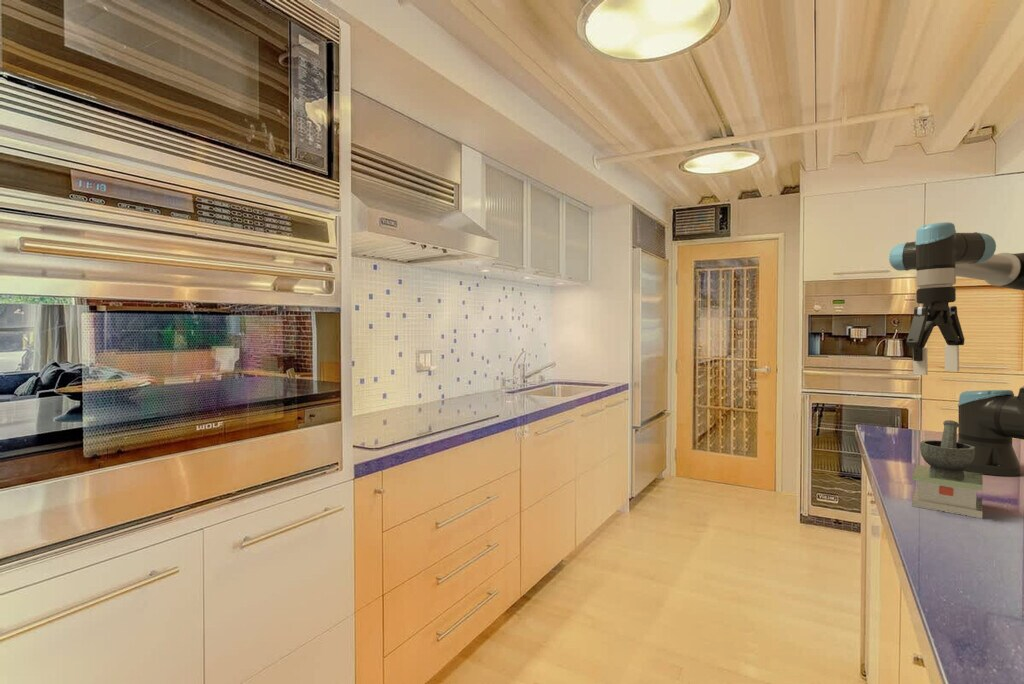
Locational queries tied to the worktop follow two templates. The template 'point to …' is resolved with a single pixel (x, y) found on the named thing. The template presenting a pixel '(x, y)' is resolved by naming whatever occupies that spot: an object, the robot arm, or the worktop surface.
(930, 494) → the stand
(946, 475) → the mortar and pestle
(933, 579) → the worktop surface
